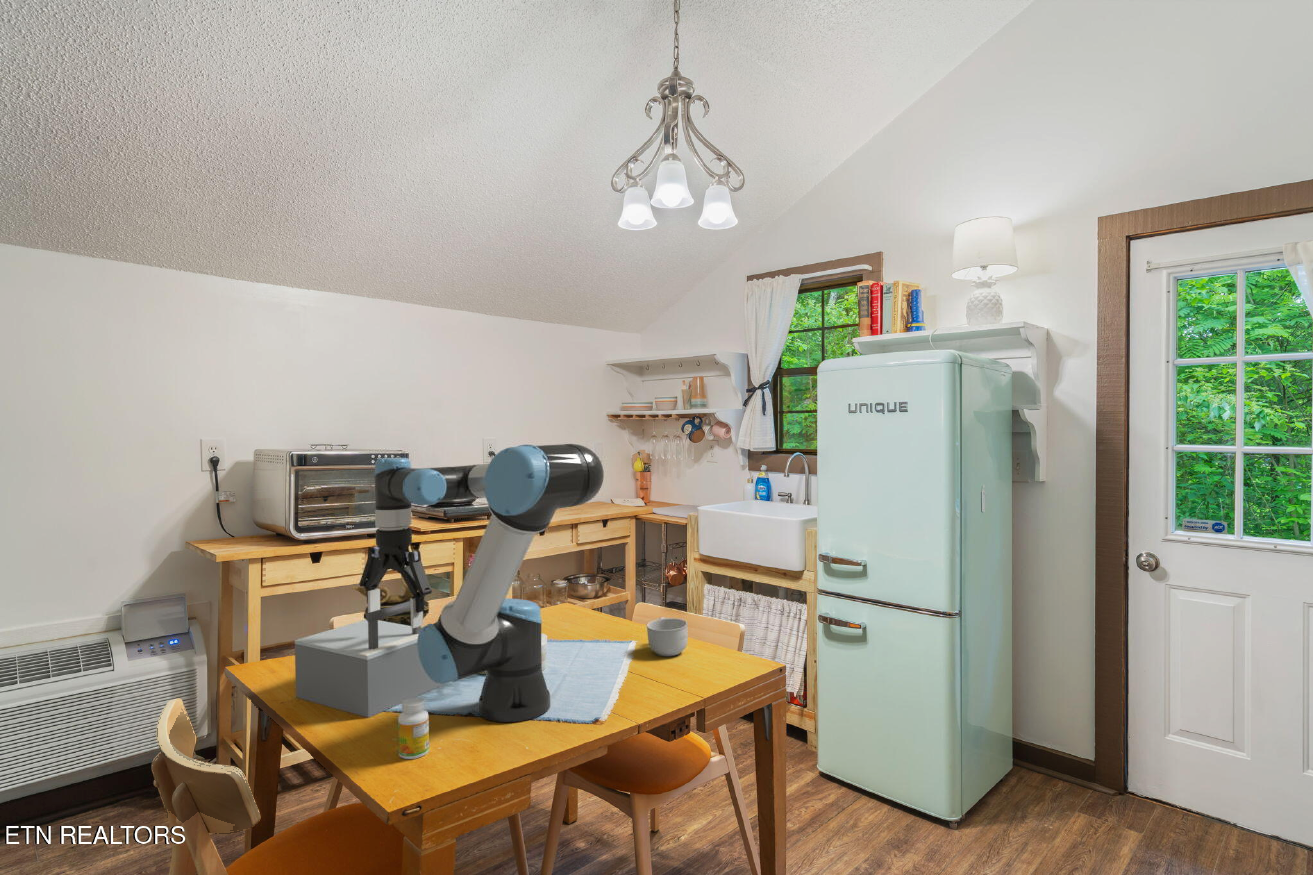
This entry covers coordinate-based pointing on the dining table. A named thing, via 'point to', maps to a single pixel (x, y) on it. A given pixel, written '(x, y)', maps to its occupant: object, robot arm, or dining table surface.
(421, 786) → the dining table surface
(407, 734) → the supplement bottle
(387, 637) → the lid flap
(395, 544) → the robot arm
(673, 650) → the teacup
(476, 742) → the dining table surface
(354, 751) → the dining table surface
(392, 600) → the decorative box
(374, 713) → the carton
